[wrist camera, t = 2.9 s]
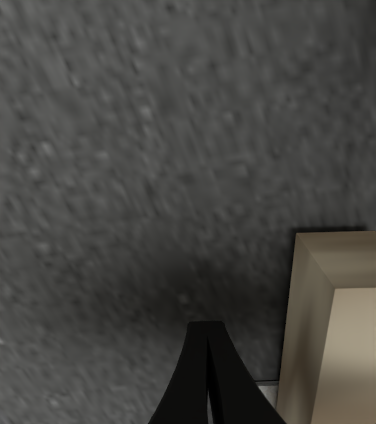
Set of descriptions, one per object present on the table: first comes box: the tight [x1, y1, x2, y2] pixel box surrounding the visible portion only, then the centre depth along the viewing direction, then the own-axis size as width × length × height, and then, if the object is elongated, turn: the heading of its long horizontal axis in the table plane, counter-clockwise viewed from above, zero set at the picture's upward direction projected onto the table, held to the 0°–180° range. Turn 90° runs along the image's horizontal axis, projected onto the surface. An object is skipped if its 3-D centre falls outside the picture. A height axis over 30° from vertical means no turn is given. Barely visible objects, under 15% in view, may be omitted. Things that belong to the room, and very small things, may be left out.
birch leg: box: [276, 231, 376, 424], centre depth 13 cm, size 12×3×4 cm, turn 2°
